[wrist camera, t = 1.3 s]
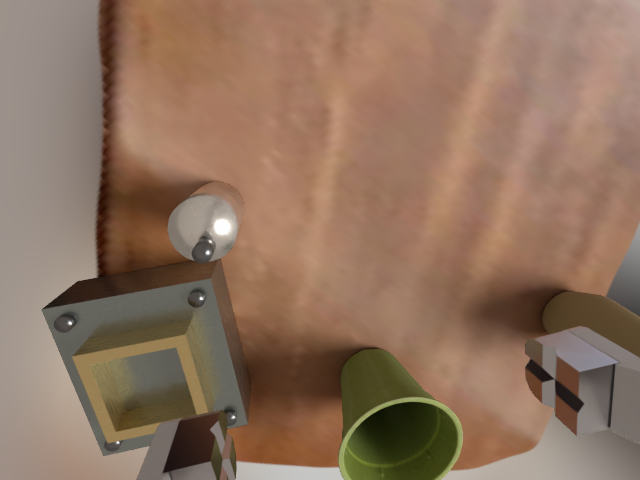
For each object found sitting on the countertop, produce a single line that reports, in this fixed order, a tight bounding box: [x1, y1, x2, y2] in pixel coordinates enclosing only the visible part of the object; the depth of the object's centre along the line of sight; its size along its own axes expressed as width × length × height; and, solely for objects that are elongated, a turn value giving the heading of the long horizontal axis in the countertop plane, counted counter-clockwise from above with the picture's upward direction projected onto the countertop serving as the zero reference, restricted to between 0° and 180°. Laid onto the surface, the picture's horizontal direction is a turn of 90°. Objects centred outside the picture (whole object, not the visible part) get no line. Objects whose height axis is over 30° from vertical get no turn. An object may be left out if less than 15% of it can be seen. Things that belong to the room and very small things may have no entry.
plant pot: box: [338, 349, 463, 480], centre depth 38 cm, size 12×12×11 cm
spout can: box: [168, 181, 244, 263], centre depth 30 cm, size 5×5×11 cm
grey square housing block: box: [42, 259, 251, 456], centre depth 35 cm, size 16×14×8 cm
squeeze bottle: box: [542, 291, 640, 358], centre depth 36 cm, size 8×8×18 cm
